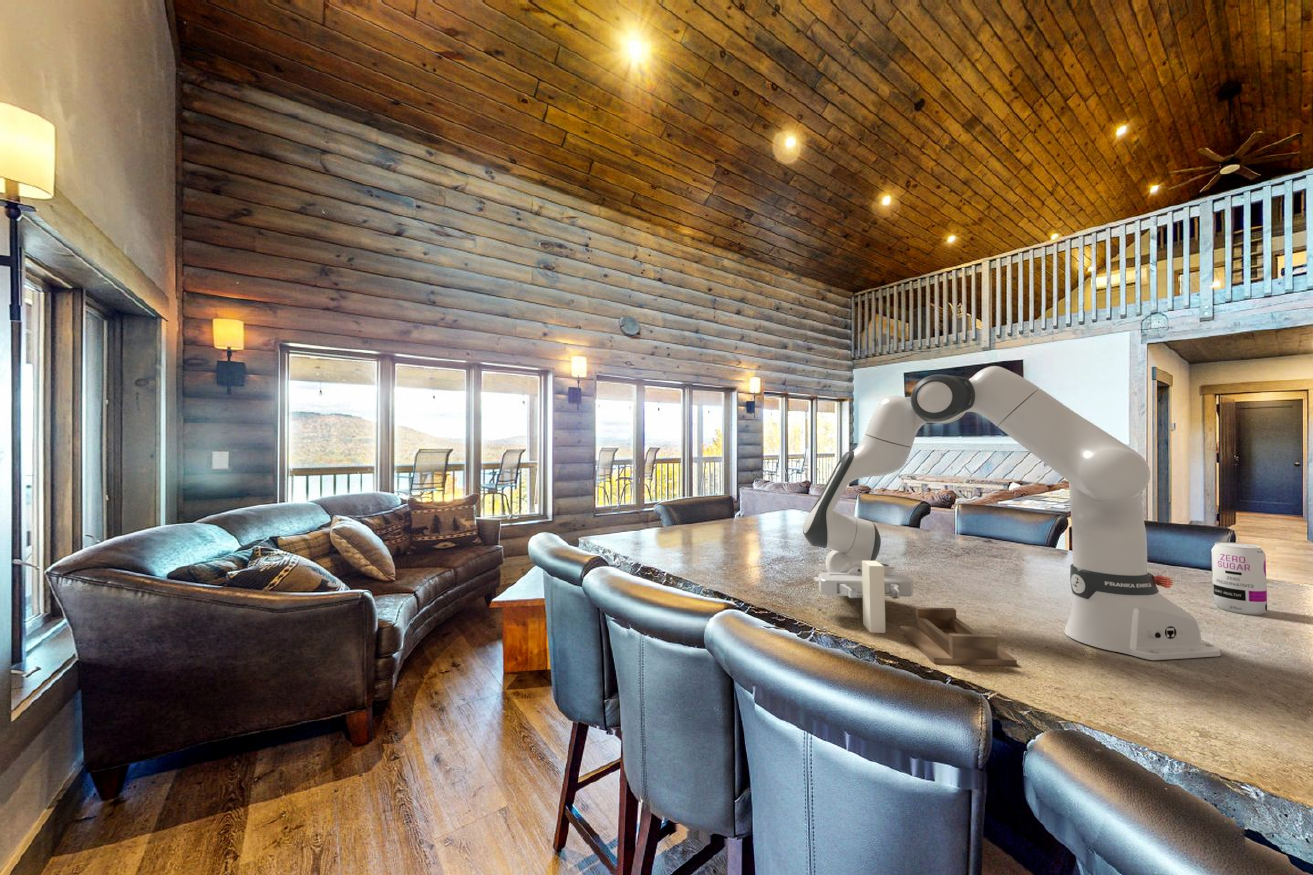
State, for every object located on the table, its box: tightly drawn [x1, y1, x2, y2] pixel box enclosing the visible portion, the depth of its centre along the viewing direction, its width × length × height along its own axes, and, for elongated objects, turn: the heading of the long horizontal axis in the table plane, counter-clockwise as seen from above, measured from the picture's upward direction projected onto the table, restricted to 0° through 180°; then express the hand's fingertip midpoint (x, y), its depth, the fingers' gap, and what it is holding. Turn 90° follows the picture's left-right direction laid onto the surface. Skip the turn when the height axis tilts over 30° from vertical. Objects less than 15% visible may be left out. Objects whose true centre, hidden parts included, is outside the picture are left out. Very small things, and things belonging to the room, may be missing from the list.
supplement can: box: [1210, 541, 1268, 616], centre depth 116 cm, size 8×8×15 cm
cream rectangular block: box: [862, 560, 886, 634], centre depth 108 cm, size 3×5×14 cm, turn 174°
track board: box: [899, 606, 1018, 667], centre depth 98 cm, size 14×16×5 cm
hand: (874, 594), depth 107 cm, fingers open, 7 cm apart
